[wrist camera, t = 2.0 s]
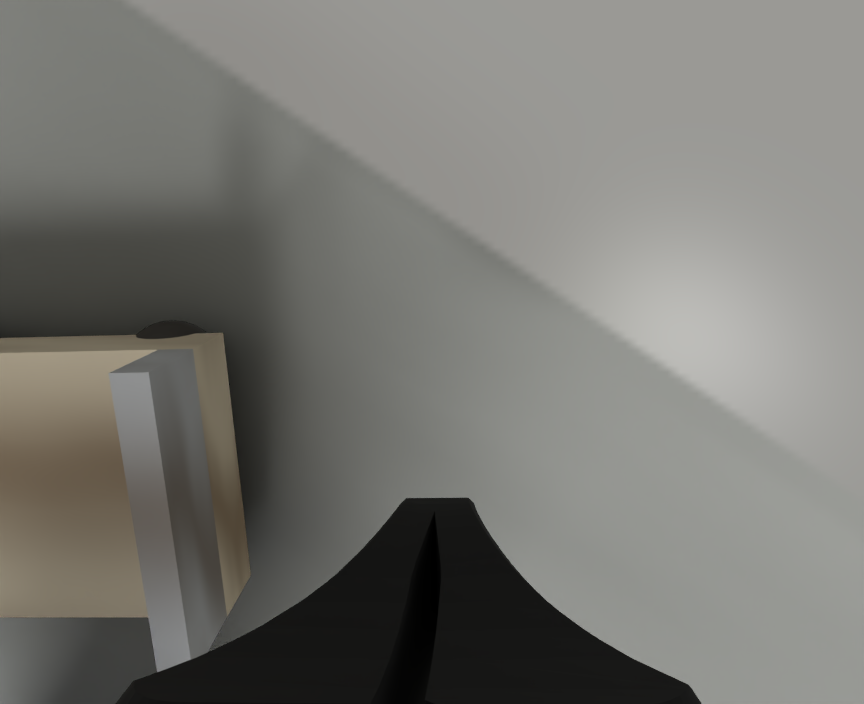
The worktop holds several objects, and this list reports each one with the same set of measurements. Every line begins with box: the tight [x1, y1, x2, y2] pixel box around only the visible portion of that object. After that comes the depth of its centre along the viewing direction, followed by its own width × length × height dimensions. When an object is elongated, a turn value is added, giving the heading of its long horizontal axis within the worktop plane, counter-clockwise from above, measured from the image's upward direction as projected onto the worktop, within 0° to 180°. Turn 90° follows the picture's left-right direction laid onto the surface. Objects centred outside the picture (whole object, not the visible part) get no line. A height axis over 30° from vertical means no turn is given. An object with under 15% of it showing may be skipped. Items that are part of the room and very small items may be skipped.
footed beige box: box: [0, 321, 251, 672], centre depth 15 cm, size 8×9×5 cm
